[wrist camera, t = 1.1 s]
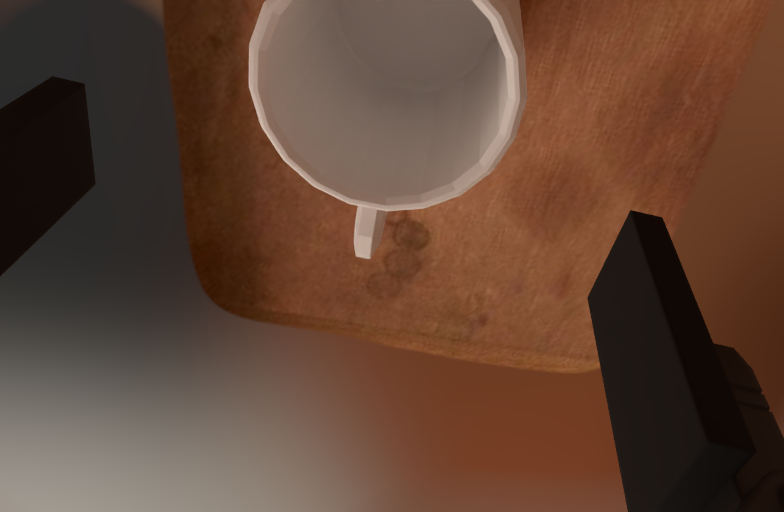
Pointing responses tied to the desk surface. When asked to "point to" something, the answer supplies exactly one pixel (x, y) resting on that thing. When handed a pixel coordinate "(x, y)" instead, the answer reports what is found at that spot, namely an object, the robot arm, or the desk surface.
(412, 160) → the mug
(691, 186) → the desk surface
